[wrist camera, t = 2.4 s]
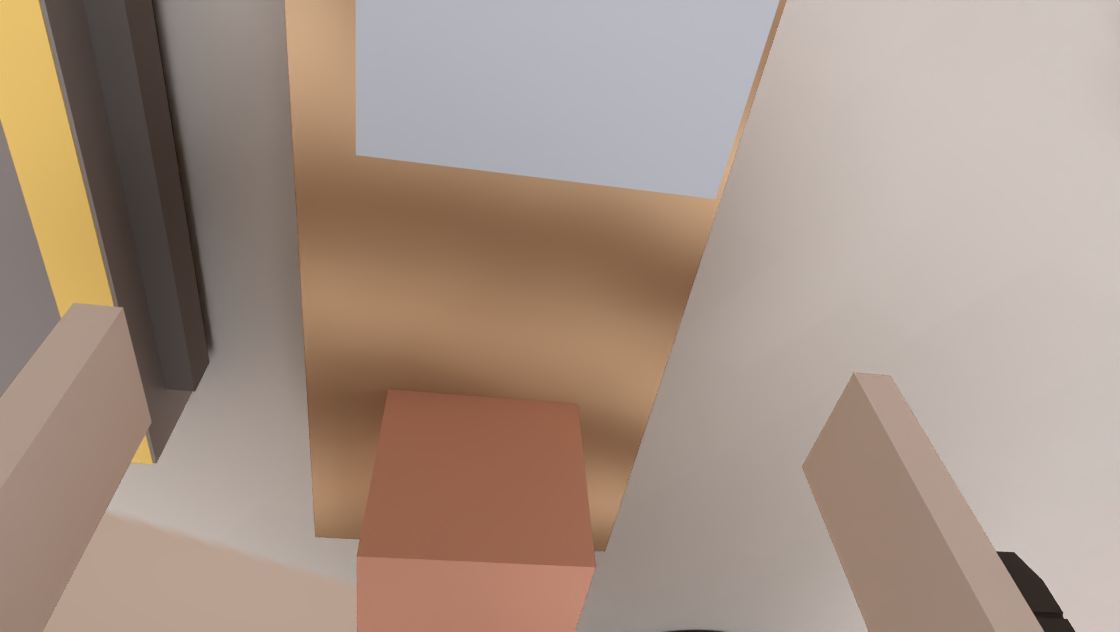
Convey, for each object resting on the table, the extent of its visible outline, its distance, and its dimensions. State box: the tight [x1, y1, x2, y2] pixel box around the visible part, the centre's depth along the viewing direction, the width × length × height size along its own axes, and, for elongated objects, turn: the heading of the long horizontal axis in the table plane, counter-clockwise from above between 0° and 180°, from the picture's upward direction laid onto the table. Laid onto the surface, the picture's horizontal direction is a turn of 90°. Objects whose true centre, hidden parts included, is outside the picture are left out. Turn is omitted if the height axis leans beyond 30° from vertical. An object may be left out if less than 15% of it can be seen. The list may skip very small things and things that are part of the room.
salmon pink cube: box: [357, 389, 596, 632], centre depth 21 cm, size 6×6×6 cm
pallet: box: [284, 0, 786, 551], centre depth 21 cm, size 24×10×7 cm, turn 171°
